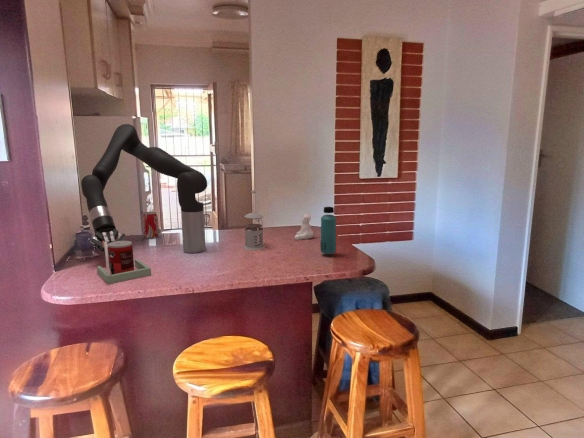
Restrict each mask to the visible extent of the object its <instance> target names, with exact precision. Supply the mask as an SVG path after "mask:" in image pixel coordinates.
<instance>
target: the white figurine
mask: <svg viewBox="0 0 584 438" xmlns="http://www.w3.org/2000/svg"><path fill="white" fill-rule="evenodd" d="M310 221H311V214H310V213H304V214H303V216H301V220H300V222H302V223H301V225H300V230H299V231H297V232H296V233H295V234H296V235H294V240H295V241H300V240H301V241H303V240H302V239H304V240H310V238H311V239H312V238H313V237H314V231H313V229H312V228H311V224H310Z"/></svg>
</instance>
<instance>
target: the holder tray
mask: <svg viewBox="0 0 584 438" xmlns="http://www.w3.org/2000/svg"><path fill="white" fill-rule="evenodd" d="M102 244H103V247H104V248H105V251H104V253H105V254H104V255H105V265H106V270H105V269H104V268H103V267H102V266H101V265H97V266H96V273H97V275H99V277H100V278H101V279H102V280H104V282H105V283H106V284H107V285H110V284H115V283H119V282H124V281H129V280H134V279H138V278H144V277H148V276H152V268H151V267H150V266H148V265H147V264H146V263H144V262H143V261H142V260H140V259H138V258H135V259H134V267H136V268H137V269H134V270H133V271H128V272H123V273H118V274H113V275H112V274H111V271H110V261H109V255H108V249H107V242H104V241H103V243H102Z"/></svg>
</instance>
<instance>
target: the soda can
mask: <svg viewBox="0 0 584 438" xmlns="http://www.w3.org/2000/svg"><path fill="white" fill-rule="evenodd" d="M158 216H159V215H158V214H157V211H145V212H143V215H142V219H141V220H142V231H143V232H142V233H143V237H144V238H146V239H151V240H152V239H156V238H158V237H159V236H160V229H159V217H158Z"/></svg>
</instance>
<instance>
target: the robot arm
mask: <svg viewBox="0 0 584 438" xmlns="http://www.w3.org/2000/svg"><path fill="white" fill-rule="evenodd" d="M122 151H123V152H125V153H127V154H129V155H131V156H133V157H135V158H137V159H138V160H140V161H141V162H143V163H144V164H146V165H147V166H148V167H149V168H151V169H152V170H154V171H155V172H157V173H160V174H162V175H164V176H166V177H172V178H174V179H176V180H177V181H176V190H177V199H178V201H177V202H178V204H179V207H180V214H181V234H182V236H181V237H182V249H183V252H184V253H187V254H196V253H198V254H199V253H202V252H206V248H207V247H206V230H205V229H206V227H205V213H204V211H205V209H204V208H205V207H204V203H203V202H201V201H197V198H196V197H197V196H196V195H197V194H200V193H203V192H205V191H206V189H207V187H208V180H207V178H206V176H205V174H203V172H201V171H199V170H197V169H195V168H193V167H190V166H189V165H186V164H185V163H183V162H182V161H181V160H179V159H177V158H175V157H174V156H172V155H171V154H170V153H168V152H167V151H166V150H163V148H160V147H158V146H151V147H149V146H147V145H145V144H144V143H143V142H142V141H141V140H140V138H139V135H138V132H137V130H136V127H135V126H134V125H132V124H130V123H123V124H120V125H119V126H118V127H116V128H115V130H114V132H113V135H112V137H111V139H110V140H109V143H108V145H107V147H106V149H105V151H104V153H103V154H102V156H101V158H100V159H99V160H98V161H97V162H96V164H95V166H94V167H93V168H92V173H91V174H87V175H85V176H83V177H82V179H81V180H80V181H81V182H80V185H81V187H80V188H81V191H82V193H81V194H82V195H83V197H84V198H86V207H87V210H88V213H89V218H90V222H91V224H92V229H93V231H94V236H93V237H91V238H90V241H89V242H90V245H91V246H93V247H95V248H97V249H98V250H100V251H101V252H105V248H104V247H103V241H104V242H107V249H108V244H109V243H111V242H115V241H117V240H116V239H118V241H125V237H126V234H125V233H120V232H119V231H118V230H117V227H116V224H115V222H114V219H113V215H112V213H111V211H110V209H109V206H108V203H107V200H106V198H105V195H104V190H105V188H106V185H108V181H109V179H110V177H112V175H113V173H114V172H115V170H116V169H117V167H118V164H119V161H120V157H121V152H122ZM108 256H109V251H108Z"/></svg>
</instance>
